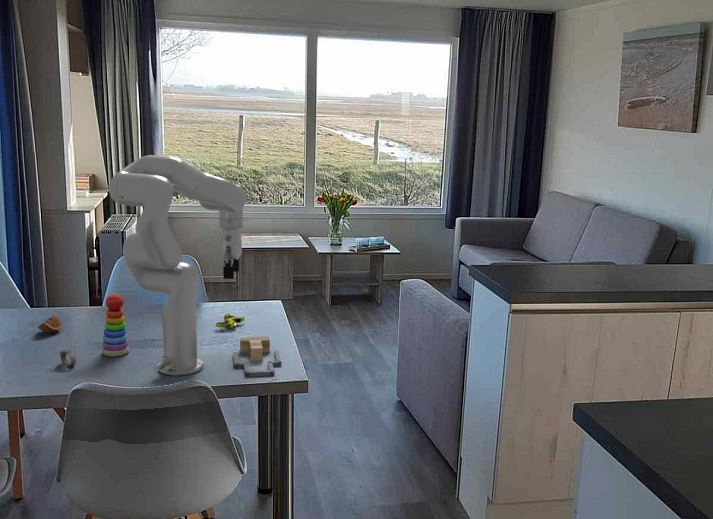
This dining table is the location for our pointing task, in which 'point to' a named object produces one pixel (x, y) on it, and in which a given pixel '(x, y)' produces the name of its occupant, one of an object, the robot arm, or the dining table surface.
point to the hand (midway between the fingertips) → (231, 274)
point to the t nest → (258, 373)
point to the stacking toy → (115, 328)
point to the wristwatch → (70, 354)
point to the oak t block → (255, 346)
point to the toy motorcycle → (230, 321)
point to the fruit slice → (51, 325)
